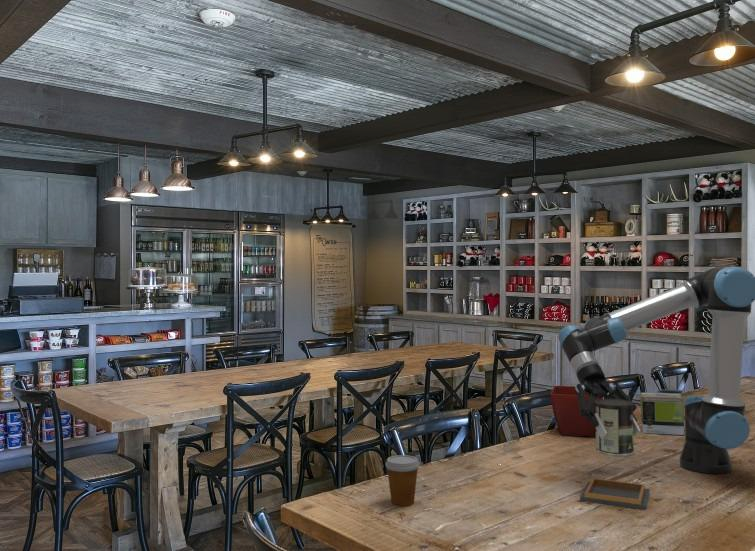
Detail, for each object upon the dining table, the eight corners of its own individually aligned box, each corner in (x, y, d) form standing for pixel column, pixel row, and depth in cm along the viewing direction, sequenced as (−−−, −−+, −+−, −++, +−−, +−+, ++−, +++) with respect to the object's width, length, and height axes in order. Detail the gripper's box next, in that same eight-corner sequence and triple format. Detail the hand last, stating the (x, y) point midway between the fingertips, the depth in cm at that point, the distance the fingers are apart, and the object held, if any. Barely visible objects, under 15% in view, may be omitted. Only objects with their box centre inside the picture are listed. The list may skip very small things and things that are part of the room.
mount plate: (649, 492, 188) (649, 484, 188) (645, 509, 175) (645, 501, 175) (588, 484, 196) (588, 477, 196) (580, 500, 182) (580, 492, 182)
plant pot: (550, 436, 253) (549, 393, 253) (554, 425, 271) (554, 385, 271) (602, 440, 247) (602, 396, 246) (603, 429, 264) (603, 387, 264)
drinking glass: (687, 421, 275) (687, 393, 275) (663, 422, 276) (663, 393, 275) (676, 416, 286) (676, 389, 285) (653, 416, 286) (653, 389, 286)
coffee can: (630, 447, 189) (630, 398, 189) (637, 457, 179) (636, 406, 179) (593, 446, 191) (592, 397, 191) (597, 455, 181) (597, 405, 181)
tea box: (681, 430, 261) (681, 393, 261) (684, 436, 252) (684, 397, 252) (641, 427, 266) (640, 391, 266) (642, 433, 257) (641, 395, 257)
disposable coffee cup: (409, 510, 176) (408, 466, 176) (379, 504, 181) (378, 461, 181) (425, 500, 184) (425, 457, 184) (396, 494, 189) (396, 452, 189)
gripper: (614, 375, 203) (649, 438, 188) (549, 379, 197) (580, 445, 182) (625, 360, 198) (661, 424, 183) (559, 364, 192) (591, 430, 177)
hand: (621, 434), depth 182 cm, fingers closed on coffee can, 10 cm apart
